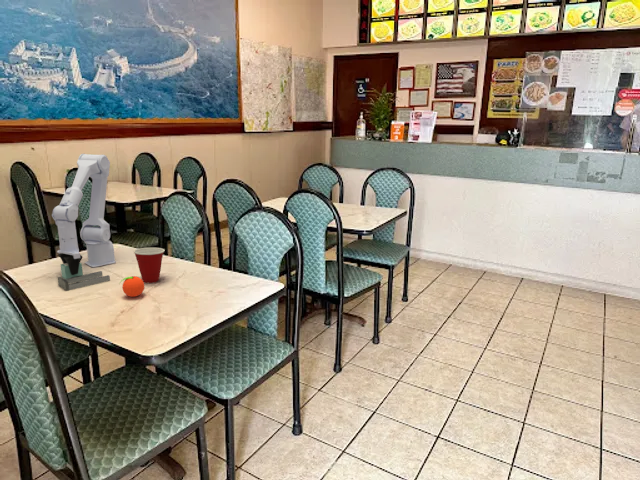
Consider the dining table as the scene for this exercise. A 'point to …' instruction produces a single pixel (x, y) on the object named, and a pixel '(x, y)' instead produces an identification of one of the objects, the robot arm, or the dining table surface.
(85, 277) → the rail
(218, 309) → the dining table surface
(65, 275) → the module
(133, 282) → the clementine
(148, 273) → the plastic cup
